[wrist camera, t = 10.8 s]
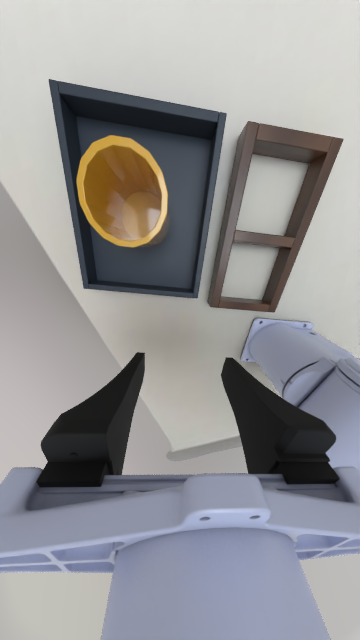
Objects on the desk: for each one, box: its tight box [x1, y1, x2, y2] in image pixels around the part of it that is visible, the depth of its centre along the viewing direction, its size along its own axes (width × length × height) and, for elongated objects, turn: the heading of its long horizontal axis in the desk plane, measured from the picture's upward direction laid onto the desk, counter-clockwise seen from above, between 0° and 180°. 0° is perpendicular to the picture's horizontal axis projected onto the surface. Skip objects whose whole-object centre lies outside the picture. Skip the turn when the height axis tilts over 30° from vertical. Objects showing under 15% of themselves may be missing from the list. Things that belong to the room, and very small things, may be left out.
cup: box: [76, 135, 170, 248], centre depth 13 cm, size 5×5×8 cm
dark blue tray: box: [49, 79, 226, 298], centre depth 16 cm, size 13×15×3 cm
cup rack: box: [208, 121, 343, 312], centre depth 17 cm, size 9×17×2 cm, turn 174°
